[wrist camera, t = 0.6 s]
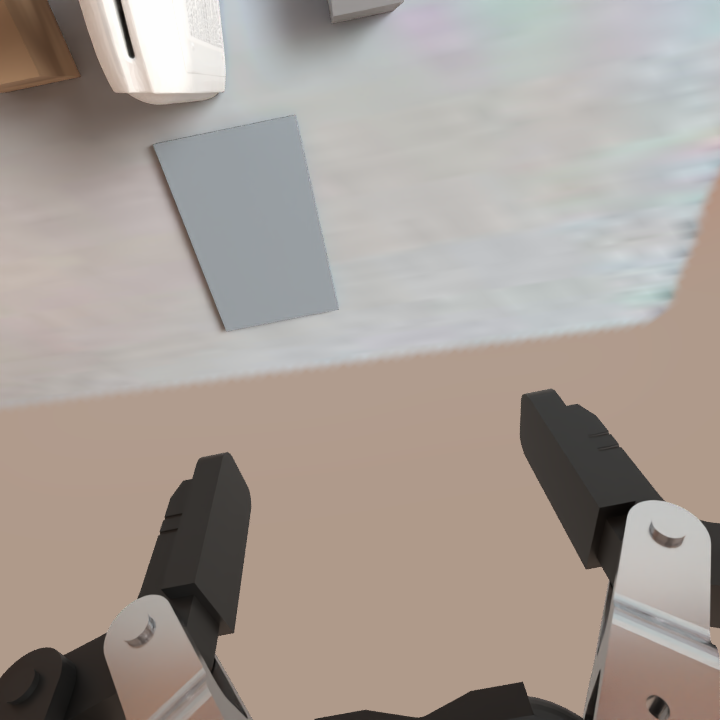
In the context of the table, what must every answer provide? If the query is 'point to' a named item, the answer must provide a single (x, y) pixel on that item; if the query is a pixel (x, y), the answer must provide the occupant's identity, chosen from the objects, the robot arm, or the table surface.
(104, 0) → the photo printer
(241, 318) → the slate mat
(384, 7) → the gray block
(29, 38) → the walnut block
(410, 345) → the table surface
